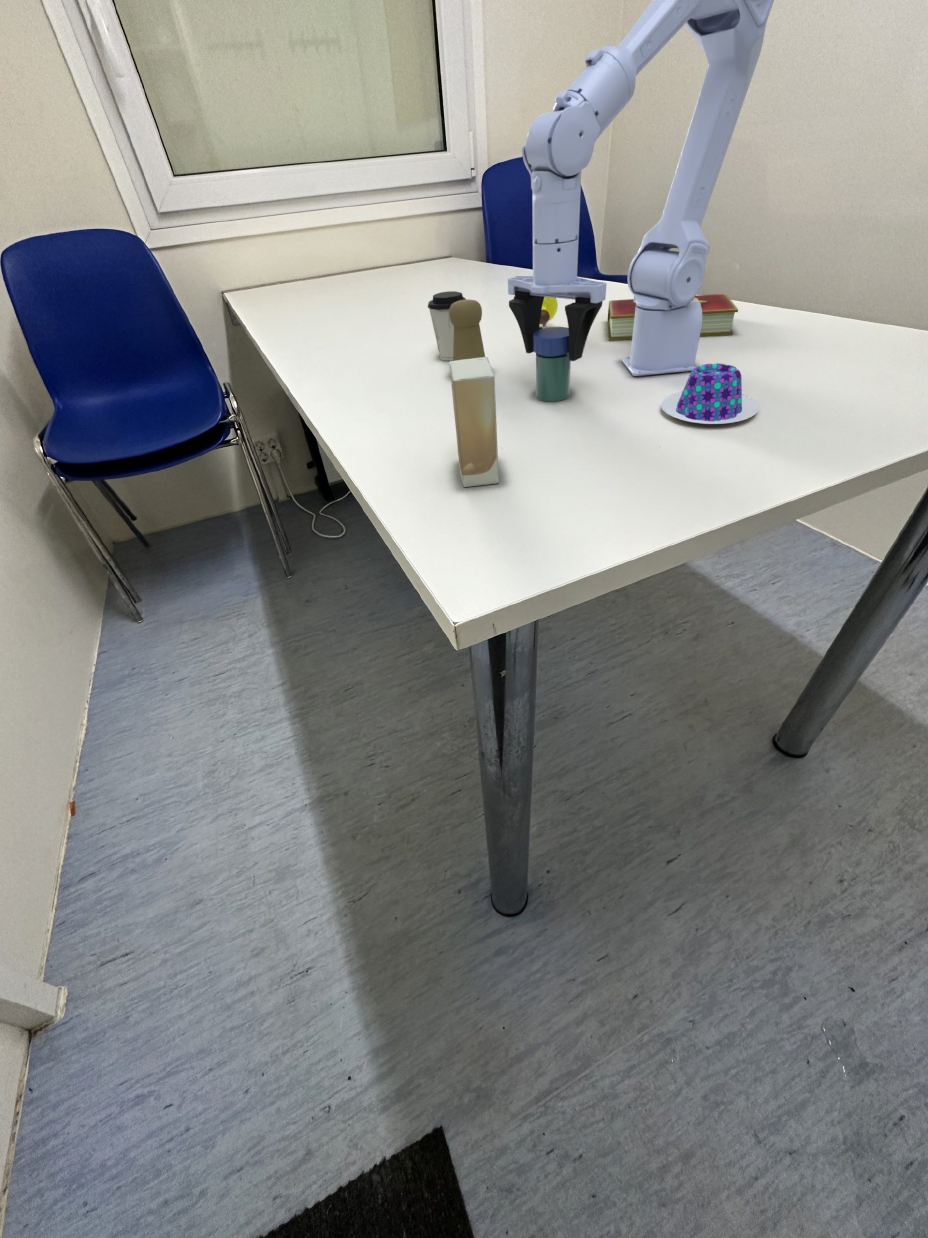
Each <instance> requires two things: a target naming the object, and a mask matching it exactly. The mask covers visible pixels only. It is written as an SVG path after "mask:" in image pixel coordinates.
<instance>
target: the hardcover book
mask: <svg viewBox="0 0 928 1238" xmlns="http://www.w3.org/2000/svg"><path fill="white" fill-rule="evenodd" d="M633 299H634V298H629V299H627V298H626V299H614V300H613V299H612V300H608V309H607V323H606V324H607V334H608V337H607V338H608V341H626V340H627V341H629V340H631V341H632V336H633V327H634V318H635V309H636V303H635V302H633ZM691 301H698V302H699V303H700V305H701V308H702V326H701V332H700V337H715V336H733V335H734V330H733V329H732V327H733V322H734V317H735V313H739V308H738V307H737V305H736V304H735V303H734V302H733V300H731V298H730V297H729V295H728V294H727V293H716V294H713V293H712V294H700V295H699V294H696V296H695V297H694V298H693V299H692V300H691Z"/></svg>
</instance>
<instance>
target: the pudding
mask: <svg viewBox="0 0 928 1238" xmlns="http://www.w3.org/2000/svg"><path fill="white" fill-rule="evenodd" d="M742 378H743V377H742V373H741V371H740V369H738V368H737V367H736V366H734V365H731V364H725V363H720V362H719V363H718V362H717V363H704V364H702V365H698V366H695V368H694V369H693V370H692V371H690V373H689V375H688V377H687V380H686V382H685V385H684V387H683V389H682V390H681V391H677V392H674V393H672V394H669V395H667V396H666V397H665V398H663V399H662V400H661V403H660V407H661V410H663V412H664V413H665V414H666V415H668V416H671V417H673V418H676V419H679V420H681V421H685V422H689V423H695V424H703V425H723V424H731V423H732V424H733V423H736V422H741V421H744V420H747V419H750V418H752V417H753V416H755V415H756V414H757V413H758V412H759V410H760V407H759V404H758V402H757V401H756V400H754V399H753V398H752V397H749V396H748V395H746V394H743V389H742V385H743V384H742V382H743V381H742Z"/></svg>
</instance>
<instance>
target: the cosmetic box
mask: <svg viewBox="0 0 928 1238" xmlns="http://www.w3.org/2000/svg"><path fill="white" fill-rule="evenodd" d="M449 373H450V383H451V384H450V385H451V393H452V394H451V395H452V404H453V405H452V406H453V413H454V416H453V417H454V425H455V436H456V445H457V447H456V448H457V456H458V458H457V459H458V467H459V475H460V480H461V484H462V487H463V488H470V487H476V486H477V487H478V486H486V485H494V484H499V483H500V475H499V473H500V472H499V470H500V469H499V452H498V451H499V448H498V447H499V446H498V428H497V427H498V426H497V425H498V424H497V403H496V381H495V380H496V379H495V374H494V370H493V367H492V365H491V362H490V360H489V357H488V356H485V357H481V358H473V359H464V360H457V361H453V360H451V361H449Z"/></svg>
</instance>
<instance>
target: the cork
mask: <svg viewBox="0 0 928 1238" xmlns="http://www.w3.org/2000/svg"><path fill="white" fill-rule="evenodd" d="M465 299H466V300H460V301H457V302H454V303H453V304H452V305H451V307H450V309H449V318H450V321H451V323H452V324H453V325H454V339H453V360H452V361H457V360H464V359H473V358H481V357H486V354H485V348H484V342H483V337H482V330H481V326H480V323H481V321H482V317H483V309H482V306H481V303H480V302H479V301H478V300H475V299H468V298H465Z"/></svg>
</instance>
